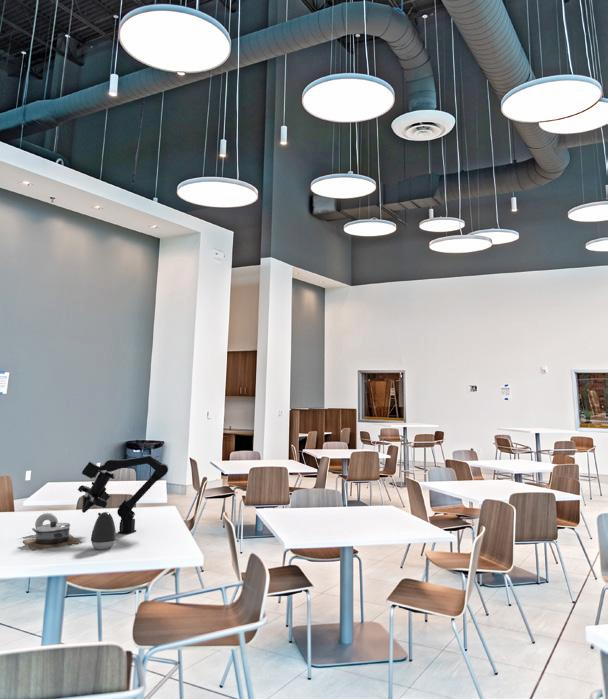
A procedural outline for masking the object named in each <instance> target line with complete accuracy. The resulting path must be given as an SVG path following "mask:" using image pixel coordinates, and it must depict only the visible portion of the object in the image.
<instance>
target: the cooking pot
mask: <svg viewBox="0 0 608 699" xmlns="http://www.w3.org/2000/svg"><path fill="white" fill-rule="evenodd" d="M70 529H71V528H70V527H69V528H67V529H64V530H59V531H53V532H37V533H36V532H35V538H36V542H35V543H36V544H40V545H52V544H59V543H64V542H67V541H68V540H69V534H70Z"/></svg>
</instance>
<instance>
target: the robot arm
mask: <svg viewBox="0 0 608 699" xmlns="http://www.w3.org/2000/svg"><path fill="white" fill-rule="evenodd" d="M140 465H148V466H149V467H151V468H152V469H153V470H154V472H153V473H152V474H151V476H150V477H149V478H148V479H147V480H146V482H144V484H143V485H141V487H140V488H139V489H138V490H137V491H136V492H135V493H134V494H133V495H132V496H131V497H130V498H129V499H128V498H125V499H124V500H123V502H121V503H120V504H119V505H118V509H117V510H116V511H117V512H116V513H117V515H118V517H120V522H119V531H117V533H118V534H126V533H130V534H132V533H135V532H137V529H135V528H136V527H135V526H136V519H135V515H136V513H135V512H134V511H133V509H134V507H135V505H136V504H137V502H139V500H140V499H142V497H143V496H144V495H145V494H146V493H147V492H148V491H149V490H150V489H151V488H152V487H153V486H154V484H155V483H156V482H158V481H159V480H160V479H162V478H163V477H165V476H166V475H167V474H168V472H169V466H168V464H166V463H162V462H160V461H159V460H157V459H156V458H154V457H153V456H152V455H147V456H141V457H140V456H139V457H133V458H126V459H118V458H117V459H116V458H114V459H113V458H112V459H108V460H106V462H104V464H103V465H100V466H98V465H97V464H95V463H93V462H92V461H89V462H88V463H87V464H86V466H85V467H84V468H83V470H82V471H81V474H82V475H83V476H85V477H87V478H89V479H91V480H92V479H95V480H94V481H92V482H91V487H90V486H87V485H83V484H82V485H80V486H79V487H78V488H77V491H79V493H83V492H84V495H82V508H81V513H86V512H87V511H88V510H90V508H92V507H93V506H97V507H100V508H104V509H105V508H106V507H107V505H108V502H107V501H108V500H109V499H110V498H111V495H110V494H108V492H107V491H106V490H107V487H106V486H107V484H108V482H109V481H110V479H112V480H115V479H116V478H115V473H114V472H115V471H117V470H121V469H123V468H128V467H129V468H130V467H135V466H140ZM111 472H113V473H111Z"/></svg>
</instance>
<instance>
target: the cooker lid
mask: <svg viewBox="0 0 608 699" xmlns="http://www.w3.org/2000/svg"><path fill="white" fill-rule="evenodd" d="M49 522H50V521H49ZM70 527H71V523H69V522H58V523H56V521H52V522H50V523H48V524H43V525H42V526H39V527H37V528H36V527H35V528H34V527H33V528H31V530H32V531H33V532H34V533H35V534H36V533H37V532H53V531H59V530H64V529H67V528H70Z"/></svg>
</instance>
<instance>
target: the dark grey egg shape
mask: <svg viewBox="0 0 608 699" xmlns="http://www.w3.org/2000/svg"><path fill="white" fill-rule="evenodd" d="M97 516H98V517H97V518H96V520H95V522H94V525H93V528H92V530H91V531H92V532H91V538H90V542H91V545H92V546H93V548H94V549H96V550H98V549H100V551H101V549H104V550H107V549H108V550H109V549H110V548H111V547H113V545H114V544H115V541H116V540H117V533H116V532H117V531H116V525H115V522H114V518H113V516H112V515H111V513H110V512H107V511H104V512H98V513H97Z"/></svg>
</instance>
